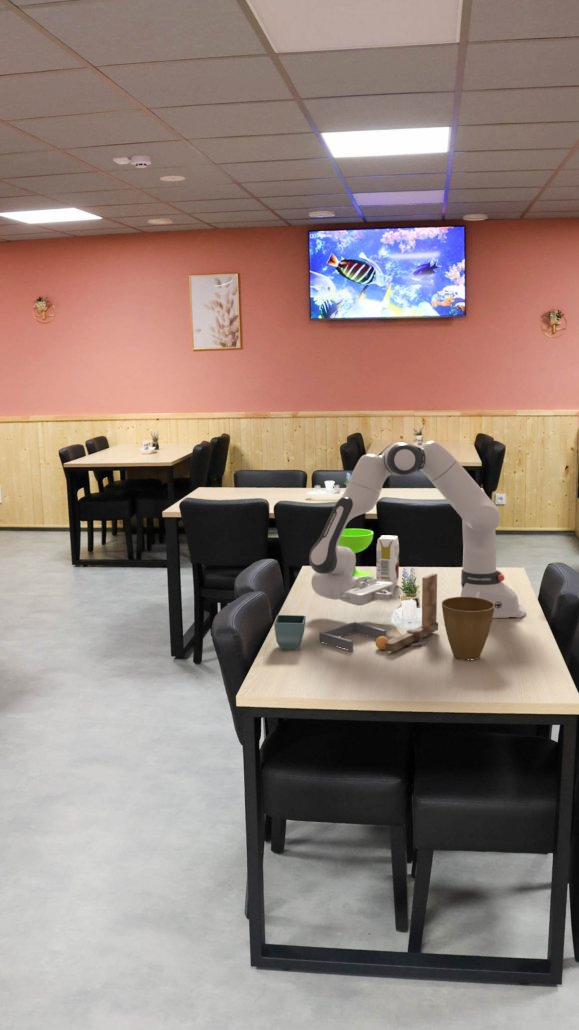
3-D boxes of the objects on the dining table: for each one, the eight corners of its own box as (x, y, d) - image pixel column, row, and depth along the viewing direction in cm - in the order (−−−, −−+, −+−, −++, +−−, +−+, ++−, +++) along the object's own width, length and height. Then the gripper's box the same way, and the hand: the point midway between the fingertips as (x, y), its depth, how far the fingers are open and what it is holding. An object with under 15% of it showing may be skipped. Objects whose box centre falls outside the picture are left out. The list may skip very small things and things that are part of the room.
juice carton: (375, 588, 348) (375, 538, 344) (379, 583, 356) (380, 534, 352) (395, 589, 345) (395, 539, 342) (399, 584, 353) (399, 535, 350)
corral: (386, 639, 286) (386, 630, 285) (350, 651, 275) (350, 641, 274) (354, 631, 295) (354, 621, 294) (319, 642, 284) (319, 632, 284)
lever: (429, 628, 294) (429, 572, 291) (440, 630, 291) (441, 574, 288) (382, 649, 273) (383, 590, 270) (394, 652, 270) (395, 592, 267)
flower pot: (306, 643, 283) (305, 615, 282) (303, 652, 274) (303, 623, 273) (277, 642, 284) (277, 614, 282) (274, 652, 275) (273, 622, 274)
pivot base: (408, 637, 288) (408, 635, 288) (431, 641, 283) (431, 639, 283) (395, 643, 282) (395, 641, 282) (418, 648, 277) (418, 646, 277)
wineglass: (379, 580, 360) (379, 534, 357) (340, 583, 355) (340, 537, 352) (364, 571, 375) (364, 527, 372) (327, 574, 371) (327, 530, 367)
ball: (389, 647, 278) (389, 634, 278) (388, 651, 274) (388, 638, 274) (375, 647, 279) (375, 634, 278) (375, 651, 275) (375, 638, 274)
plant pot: (430, 655, 270) (430, 602, 267) (464, 645, 279) (466, 593, 276) (468, 669, 259) (470, 613, 256) (504, 658, 267) (505, 604, 265)
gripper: (336, 586, 296) (373, 593, 288) (372, 574, 312) (407, 581, 304) (336, 606, 297) (372, 613, 289) (371, 593, 313) (407, 599, 305)
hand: (391, 596), depth 296 cm, fingers closed
